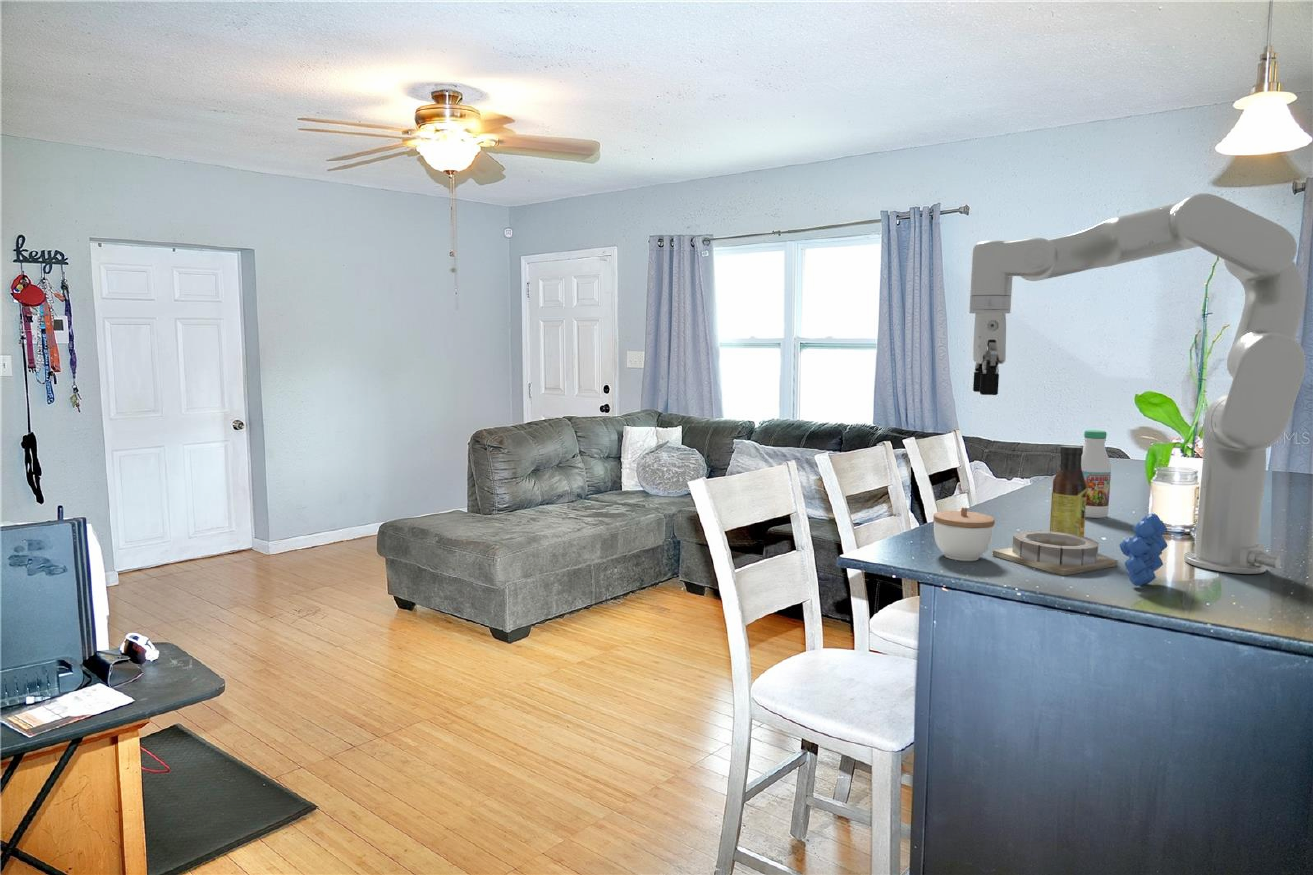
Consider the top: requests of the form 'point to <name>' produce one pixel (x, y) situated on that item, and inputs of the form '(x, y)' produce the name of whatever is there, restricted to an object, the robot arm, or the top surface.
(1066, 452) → the sauce bottle
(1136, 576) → the grapes
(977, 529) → the lidded jar
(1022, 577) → the top surface
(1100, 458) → the milk bottle
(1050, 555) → the collar board
